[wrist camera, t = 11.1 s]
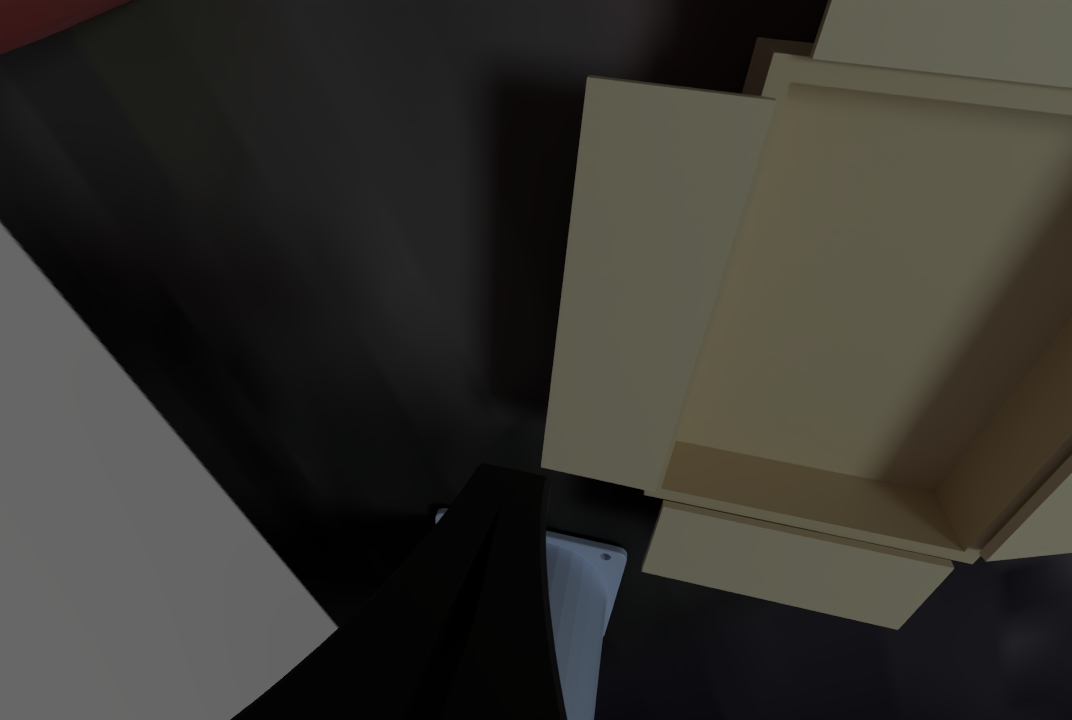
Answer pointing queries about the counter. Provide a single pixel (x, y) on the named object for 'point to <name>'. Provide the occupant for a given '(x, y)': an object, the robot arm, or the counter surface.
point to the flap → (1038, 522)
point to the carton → (884, 312)
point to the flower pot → (44, 18)
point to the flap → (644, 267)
